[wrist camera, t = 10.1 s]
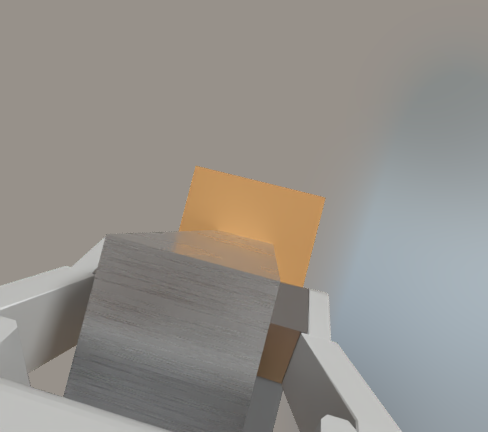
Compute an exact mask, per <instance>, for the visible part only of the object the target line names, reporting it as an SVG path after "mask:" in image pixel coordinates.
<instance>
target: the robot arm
mask: <svg viewBox="0 0 488 432" xmlns="http://www.w3.org/2000/svg"><path fill="white" fill-rule="evenodd" d="M105 237H106V236H105ZM105 237H104V238H103V239H102V240H101V241H99V242H98V243H97V244H96V245H95V246H94V247H93V248H92V249H91V250H90V251H89V252H87V253H86V254H85V255H84V256H83V257H82V258H81V259H80V260H79V261H78V262H77V263H75V264H74V265H73V266H72V267H67V266H64V267H60V268H57V269H54V270H51V271H47V272H44V273H41V274H38V275H34V276H31V277H28V278H25V279H21V280H18V281H15V282H11V283H8V284H5V285H2V286H0V432H172V431H168V430H165V429H162V428H159V427H156V426H153V425H150V424H146V423H143V422H140V421H137V420H134V419H131V418H128V417H124V416H121V415H118V414H115V413H112V412H109V411H106V410H102V409H99V408H96V407H93V406H90V405H87V404H84V403H80V402H77V401H74V400H71V399H68V398H65V397H61V396H59V395H55V394H52V393H49V392H46V391H43V390H40V389H36V388H33V387H31V385H30V381H29V376H28V373H30V372H31V371H33V370H35V369H37V368H38V367H40V366H42V365H43V364H45V363H47V362H48V361H50V360H52V359H53V358H55V357H57V356H59V355H60V354H62V353H64V352H65V351H67V350H69V349H70V348H72V347H74V346H76V345H77V343H78V339H79V335H80V332H81V328H82V324H83V320H84V316H85V313H86V309H87V305H88V301H89V297H90V294H91V290H92V286H93V282H94V279H95V275H96V271H97V267H98V263H99V260H100V256H101V252H102V248H103V244H104V241H105ZM257 376H260V377H263V378H266V379H269V380H272V381H275V382H278V383H281V384H282V385H281V386H282V388H283V391H284V393H285V396H286V398H287V401H288V403H289V406H290V408H291V411H292V413H293V416H294V418H295V421H296V423H297V425H298V428H299V431H300V432H402V431H401V430H400V429H399V427H398V426H397V425H396V423H395V422H394V420H393V419H392V418H391V416H390V415H389V413H388V412H387V411H386V409H385V408H384V407H383V405H382V404H381V403H380V401H379V400H378V398H377V397H376V396H375V394H374V393H373V391H372V390H371V389H370V387H369V386H368V385H367V383H366V382H365V381H364V379H363V378H362V376H361V375H360V374H359V372H358V371H357V370H356V368H355V367H354V365H353V364H352V363H351V361H350V360H349V359H348V357H347V356H346V354H345V353H344V352H343V350H342V349H341V348H340V346H339V345H338V344H337V343H336V342H333V341H331V329H330V311H329V295H328V294H327V293H326V292H321V291H318V290H314V289H309V288H308V289H307V288H303V287H300V286H296V285H292V284H288V283H285V282H281V281H280V285H279V289H278V293H277V297H276V301H275V305H274V309H273V313H272V317H271V321H270V324H269V328H268V332H267V336H266V340H265V344H264V348H263V352H262V356H261V360H260V364H259V368H258V371H257Z"/></svg>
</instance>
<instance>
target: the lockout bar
mask: <svg viewBox="0 0 488 432" xmlns="http://www.w3.org/2000/svg"><path fill="white" fill-rule="evenodd" d="M324 201H325V198H324V197H321V196H317V195H312V194H309V193H305V192H300V191H297V190H292V189H288V188H284V187H280V186H276V185H272V184H268V183H264V182H260V181H256V180H252V179H247V178H243V177H240V176H235V175H231V174H227V173H223V172H219V171H215V170H211V169H207V168H203V167H199V166H196V167H195V171H194V175H193V179H192V182H191V186H190V190H189V194H188V198H187V201H186V205H185V209H184V213H183V217H182V221H181V225H180V228H179V231H178V232H177V231H176V232H152V233H151V232H150V233H126V234H106V237H105V241H104V244H103V248H102V252H101V256H100V260H99V263H98V267H97V271H96V275H95V279H94V282H93V286H92V290H91V294H90V297H89V301H88V305H87V309H86V313H85V316H84V320H83V324H82V328H81V332H80V335H79V339H78V343H77V347H76V351H75V355H74V359H73V362H72V366H71V370H70V373H69V377H68V381H67V385H66V389H65V393H64V396H63V397H65V398H68V399H71V400H74V401H77V402H80V403H84V404H87V405H90V406H93V407H96V408H99V409H102V410H106V411H109V412H112V413H115V414H118V415H121V416H124V417H128V418H131V419H134V420H137V421H140V422H143V423H146V424H150V425H153V426H156V427H159V428H162V429H165V430H168V431H172V432H242V430H243V426H244V422H245V419H246V415H247V411H248V407H249V403H250V399H251V395H252V391H253V387H254V383H255V379H256V375H257V371H258V368H259V364H260V360H261V356H262V352H263V348H264V344H265V340H266V336H267V332H268V328H269V324H270V321H271V317H272V313H273V309H274V305H275V301H276V297H277V293H278V289H279V285H280V281H281V282H285V283H288V284H292V285H296V286H300V287H303V284H304V280H305V277H306V272H307V269H308V265H309V261H310V257H311V253H312V249H313V245H314V241H315V237H316V234H317V229H318V226H319V221H320V218H321V214H322V210H323V206H324Z"/></svg>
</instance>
